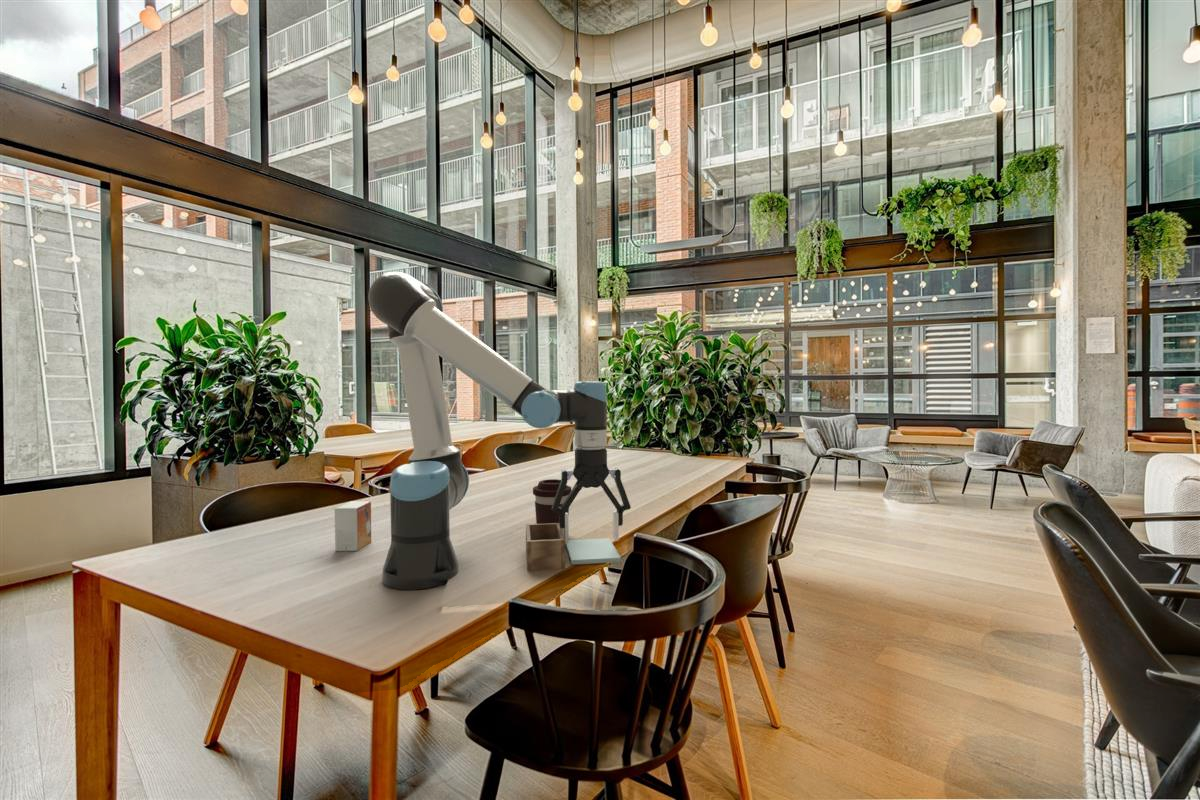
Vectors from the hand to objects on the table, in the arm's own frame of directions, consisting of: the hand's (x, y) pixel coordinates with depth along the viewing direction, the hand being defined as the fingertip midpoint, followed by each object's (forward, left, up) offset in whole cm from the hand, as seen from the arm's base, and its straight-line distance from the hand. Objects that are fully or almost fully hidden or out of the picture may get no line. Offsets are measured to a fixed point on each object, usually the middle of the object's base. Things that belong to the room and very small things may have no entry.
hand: (591, 540), depth 127 cm
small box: (-57, +16, -4) cm, 60 cm away
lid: (0, 0, -3) cm, 3 cm away
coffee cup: (-8, +15, -4) cm, 17 cm away
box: (-11, -3, -4) cm, 12 cm away
